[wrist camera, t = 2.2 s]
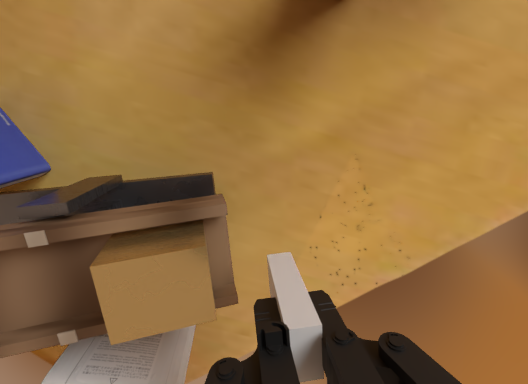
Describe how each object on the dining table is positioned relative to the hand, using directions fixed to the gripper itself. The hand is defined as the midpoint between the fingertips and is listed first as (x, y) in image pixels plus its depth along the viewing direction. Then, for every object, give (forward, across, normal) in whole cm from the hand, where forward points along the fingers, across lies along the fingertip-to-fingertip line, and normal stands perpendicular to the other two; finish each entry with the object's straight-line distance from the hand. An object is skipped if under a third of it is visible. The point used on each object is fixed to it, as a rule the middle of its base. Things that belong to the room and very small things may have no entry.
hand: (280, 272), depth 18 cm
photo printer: (+12, -13, -10) cm, 20 cm away
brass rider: (+3, -8, 0) cm, 8 cm away
